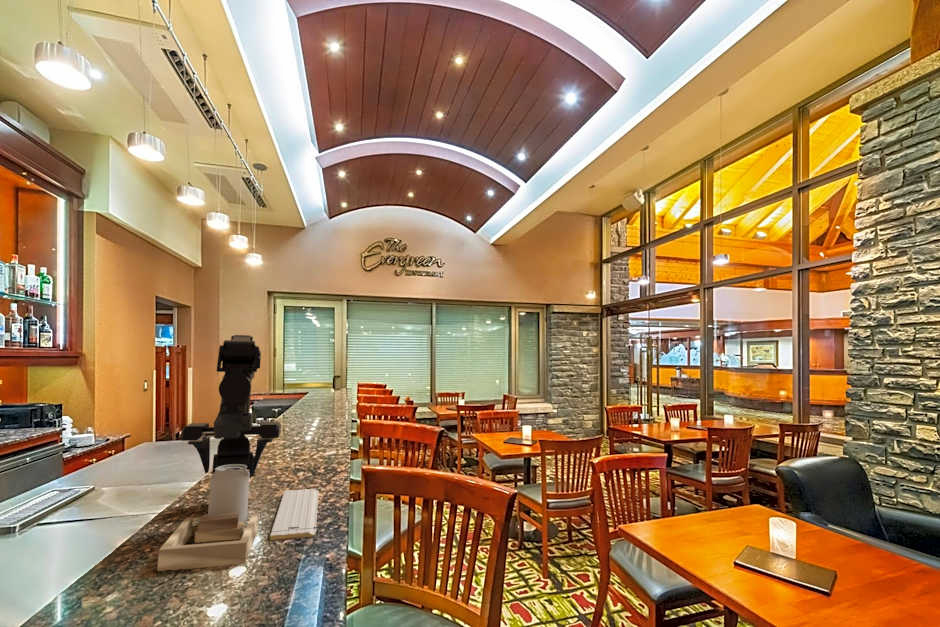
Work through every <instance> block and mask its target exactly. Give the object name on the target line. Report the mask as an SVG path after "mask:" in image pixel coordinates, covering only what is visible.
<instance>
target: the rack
mask: <svg viewBox="0 0 940 627" xmlns="http://www.w3.org/2000/svg"><path fill="white" fill-rule="evenodd" d="M193 518H194V517H185V519H184V520H183V521H182V522H181V523H180V524H179V526H177V528H176V529H175V531H174V532H173V533H172V534H171V535H170V536H169V538H168V539H167V540H166V541H165V542H164V544H163V545H162V546H161V547H160V548H159V550H158V557H157V568H156V569H157V570H156V571H162V572H167V571H166V570H172V571H179V569H182V570H190V569H201V568H211V567H212V568H213V567H220V566H221V567H222V566H230V565H231V566H232V565H243V564H246V562H247V560H248V557H249V554H250V552H251V550H252V547H253V545H254V542H255V540H256V537H257V534H258V532H259V525H260V524H259V521H260V512H257V513H256V512H254V513H252V515H251V517H250V518H249V521H248V523H247V525H246V528H244V532H243V534H242V537H241V539H239V540H232V541H231V540H228V541H216V542H209V543H208V542H204V543H196V544H195V543H194V544H187V543H188V541H189V540H190V538H191V537H192V533H193V522H194V521H193V520H194V519H193ZM186 542H187V543H186ZM164 570H165V571H164Z"/></svg>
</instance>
